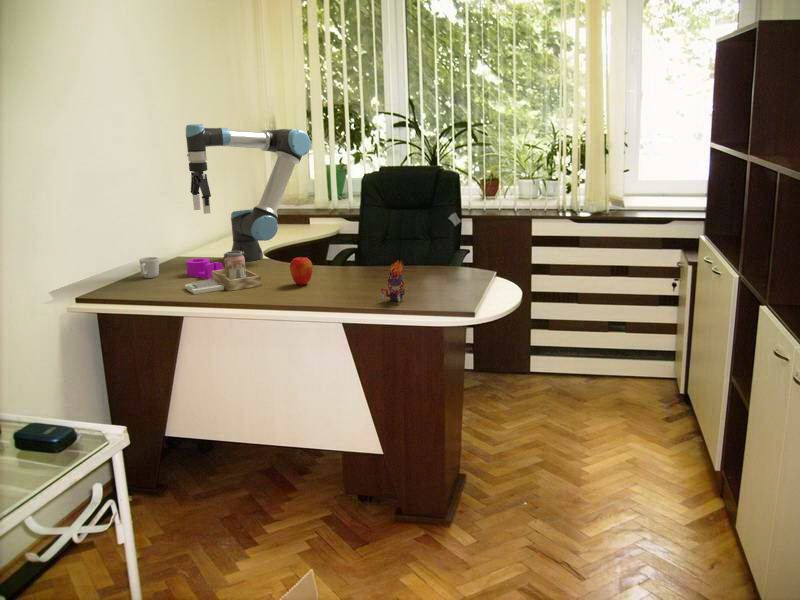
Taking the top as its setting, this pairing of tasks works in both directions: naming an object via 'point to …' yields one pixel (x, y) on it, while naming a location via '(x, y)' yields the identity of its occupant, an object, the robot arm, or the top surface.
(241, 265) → the beverage can
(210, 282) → the grey square pad
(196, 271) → the magenta pipe bracket
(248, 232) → the robot arm
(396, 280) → the figurine
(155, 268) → the cup
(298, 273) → the apple
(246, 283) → the trough board
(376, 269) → the top surface
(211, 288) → the checker base
